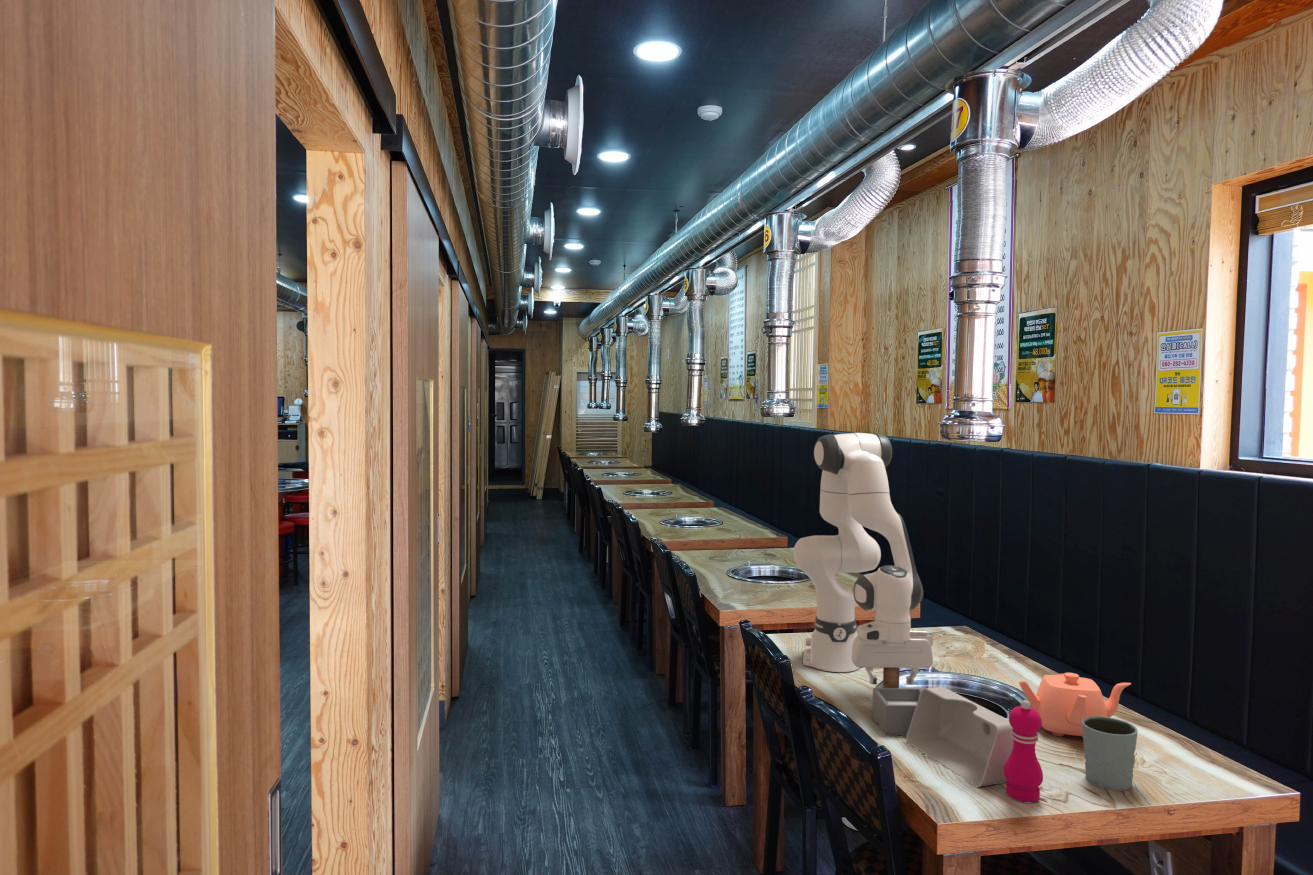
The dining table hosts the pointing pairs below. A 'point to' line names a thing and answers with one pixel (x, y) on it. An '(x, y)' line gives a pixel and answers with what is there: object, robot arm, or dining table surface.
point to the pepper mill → (1024, 755)
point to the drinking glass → (1109, 752)
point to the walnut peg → (891, 677)
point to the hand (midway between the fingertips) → (891, 683)
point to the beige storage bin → (961, 736)
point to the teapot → (1070, 702)
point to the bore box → (895, 708)
